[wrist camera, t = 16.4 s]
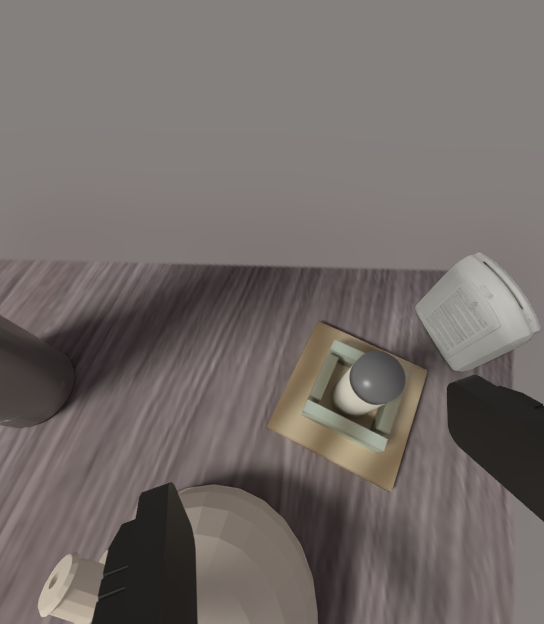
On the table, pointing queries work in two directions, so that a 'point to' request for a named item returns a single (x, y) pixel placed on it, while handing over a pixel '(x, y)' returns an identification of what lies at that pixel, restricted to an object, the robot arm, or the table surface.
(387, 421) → the holder
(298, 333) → the table surface
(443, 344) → the photo printer
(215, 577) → the kettle
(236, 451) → the table surface
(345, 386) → the grey and white cylinder
